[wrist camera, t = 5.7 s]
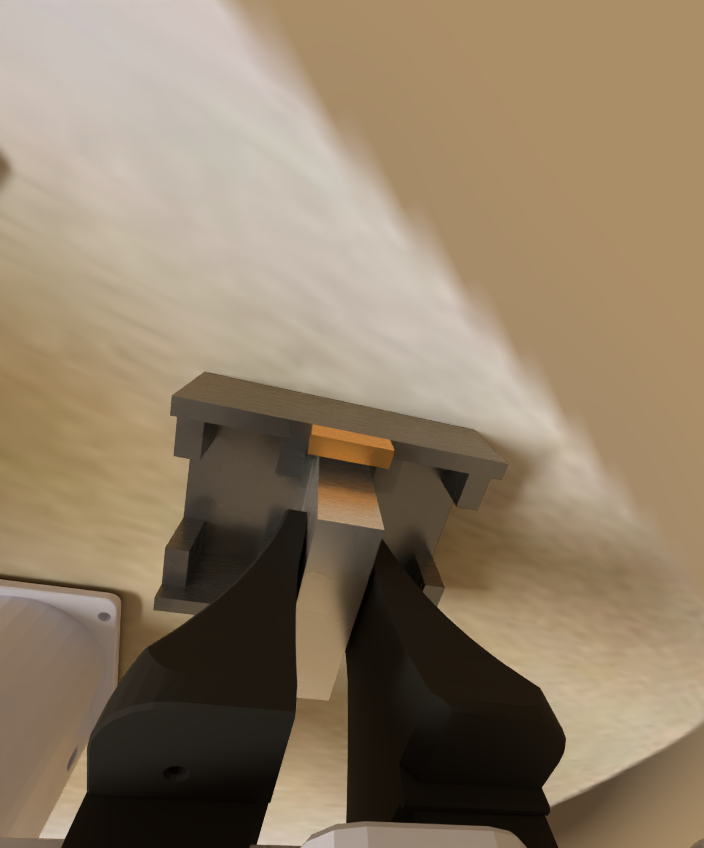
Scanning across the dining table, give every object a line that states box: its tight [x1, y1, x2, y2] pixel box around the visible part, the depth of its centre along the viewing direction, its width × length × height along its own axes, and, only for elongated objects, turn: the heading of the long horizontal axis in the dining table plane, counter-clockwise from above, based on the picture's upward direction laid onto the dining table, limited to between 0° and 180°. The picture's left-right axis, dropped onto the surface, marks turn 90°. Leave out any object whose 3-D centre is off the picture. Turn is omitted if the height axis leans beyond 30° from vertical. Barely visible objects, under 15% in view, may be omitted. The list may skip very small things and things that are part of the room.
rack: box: [154, 372, 508, 615], centre depth 13 cm, size 8×10×4 cm
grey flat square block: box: [296, 455, 384, 701], centre depth 12 cm, size 6×2×6 cm, turn 166°
